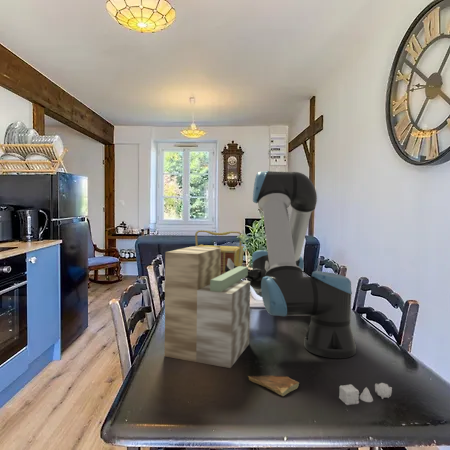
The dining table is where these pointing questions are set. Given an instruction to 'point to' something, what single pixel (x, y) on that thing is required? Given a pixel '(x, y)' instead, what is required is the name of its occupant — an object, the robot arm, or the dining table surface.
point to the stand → (203, 309)
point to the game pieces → (351, 394)
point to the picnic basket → (226, 251)
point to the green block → (228, 278)
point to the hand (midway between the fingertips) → (246, 263)
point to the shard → (276, 383)
